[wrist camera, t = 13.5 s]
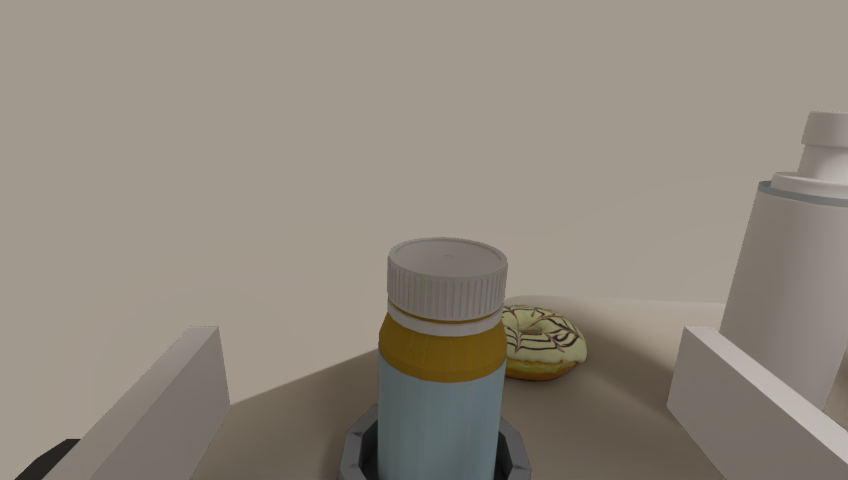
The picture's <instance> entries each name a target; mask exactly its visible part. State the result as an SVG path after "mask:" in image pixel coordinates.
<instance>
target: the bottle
mask: <svg viewBox="0 0 848 480" xmlns="http://www.w3.org/2000/svg"><path fill="white" fill-rule="evenodd" d="M507 268H508V263H507V258H506V256H505V255H504V254H503V253H502V252H501V251H499V250H498V249H496V248H494V247H492V246H489V245H487V244H483V243H480V242H476V241H471V240H465V239H458V238H445V237H433V238H420V239H414V240H409V241H405V242H402V243H400V244H397V245H396V246H394V247H393V248H392V249H391V250H390V252H389V256H388V271H387V273H388V274H387V277H388V278H387V292H388V312H387V315H386V317H385V320H384V322H383V324H382V327H381V329H380V333H379V346H378V480H493V478H494V469H495V460H496V451H497V442H498V432H499V423H500V414H501V405H502V396H503V386H504V377H505V368H506V359H507V336H506V333H505V329H504V325H503V322H502V318H501V317H502V313H503V301H504V298H505V288H506V278H507Z"/></svg>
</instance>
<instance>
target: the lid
mask: <svg viewBox="0 0 848 480" xmlns="http://www.w3.org/2000/svg"><path fill="white" fill-rule="evenodd" d="M531 471H532V470H531V467H530V464H529V460H528V457H527V454H526V451H525V448H524V445H523V442H522V439H521V436H520V433H519V432H518V431H517V430H515V429H514V428H513V427H512V426H511V425H510V424H509V423H508V422H507V421H505V420H504V419H503V418H502V417H501V416H500V423H499V432H498V442H497V451H496V460H495V469H494V478H493V480H530V478H531ZM337 480H378V404H375V405H373V406H372V407H371V408H370V409H369V410H368V411H367V412H366V413H365V414H364V415H363V416H362V417H361V418H360V419H359V420H358V421H357V422H356V423H355V424H354V425H353V426H352V427H351V428H350V429H349V430H348V431H347V433H346V438H345V443H344V448H343V453H342V458H341V464H340V470H339V473H338V477H337Z"/></svg>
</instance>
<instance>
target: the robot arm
mask: <svg viewBox="0 0 848 480" xmlns="http://www.w3.org/2000/svg"><path fill="white" fill-rule="evenodd" d="M666 407H667V408H668V409H669V411H670V412H671V413H672V414H673V416H674V417H675V418H676V419H677V420H678V422H679V423H680V424H681V425H682V427H683V428H684V429H685V430H686V431H687V433H688V434H689V435H690V436H691V438H692V439H693V440H694V441H695V442H696V444H697V445H698V446H699V447H700V448H701V450H702V451H703V452H704V453H705V455H706V456H707V457H708V458H709V459H710V461H711V462H712V463H713V464H714V466H715V467H716V468H717V469H718V470H719V472H720V473H721V474H722V475H723V477H724V478H725V479H726V480H848V432H847V431H846V430H845V429H843V428H842V427H841V426H840V425H838V424H837V423H836V422H834V421H833V420H832V419H830V418H829V417H828V416H827V415H825V414H824V413H823V412H821V411H820V410H819V409H817V408H816V407H815V406H814V405H812V404H811V403H810V402H808V401H807V400H806V399H804V398H803V397H802V396H801V395H799V394H798V393H797V392H795V391H794V390H793V389H791V388H790V387H789V386H787V385H786V384H785V383H784V382H782V381H781V380H780V379H778V378H777V377H776V376H774V375H773V374H772V373H771V372H769V371H768V370H767V369H765V368H764V367H763V366H761V365H760V364H759V363H758V362H756V361H755V360H754V359H752V358H751V357H750V356H748V355H747V354H746V353H745V352H743V351H742V350H741V349H739V348H738V347H737V346H735V345H734V344H733V343H732V342H730V341H729V340H728V339H726V338H725V337H724V336H722V335H721V334H720V333H719V332H717V331H716V330H715V329H713V328H712V327H711V326H684V329H683V334H682V338H681V343H680V347H679V352H678V356H677V361H676V365H675V370H674V374H673V379H672V383H671V388H670V392H669V397H668V401H667V406H666ZM230 410H231V407H230V400H229V393H228V387H227V380H226V374H225V366H224V360H223V353H222V347H221V339H220V333H219V327H218V326H191V327H190V328H189V329H188V330H187V331H186V332H185V333H184V334H183V335H182V336H181V337H180V338H179V339H178V340H177V341H176V342H175V343H174V344H173V345H172V346H171V347H170V348H169V349H168V350H167V351H166V352H165V353H164V354H163V355H162V356H161V357H160V358H159V360H157V362H156V363H155V364H154V365H153V366H152V367H151V368H150V369H149V370H148V371H147V372H146V373H145V374H144V375H143V376H142V377H141V378H140V379H139V380H138V381H137V382H136V383H135V384H134V385H133V386H132V387H131V388H130V389H129V390H128V391H127V393H125V395H123V397H122V398H121V399H120V400H119V401H118V402H117V403H116V404H115V405H114V406H113V407H112V408H111V409H110V410H109V411H108V412H107V413H106V414H105V415H104V416H103V417H102V418H101V419H100V420H99V422H97V423H96V424H95V425H94V427H92V429H91V430H90V431H89V432H88V433H87V434H86V435H85V436H84V437H83V438H82V439H66V440H65V441H63V442H62V443H60V444H58V445H57V446H55V447H54V448H52V449H51V450H49V451H48V452H46V453H44V454H43V455H41V456H40V457H38V458H37V459H36V460H34V461H33V462H32V463H31V464H30V465H29V466H28V467H27V468H26V469H25V470H24V471H23V472H22V473H21V474H20V475H19V476H18V477H17V478H16V479H15V480H190V478H191V476H192V475H193V473H194V471H195V470H196V468H197V466H198V464H199V463H200V461H201V459H202V458H203V456H204V454H205V452H206V451H207V449H208V447H209V446H210V444H211V442H212V440H213V439H214V437H215V435H216V434H217V432H218V430H219V428H220V427H221V425H222V423H223V422H224V420H225V418H226V416H227V415H228V413H229V411H230Z"/></svg>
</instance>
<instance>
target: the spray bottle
mask: <svg viewBox="0 0 848 480" xmlns="http://www.w3.org/2000/svg"><path fill="white" fill-rule="evenodd" d="M801 143H802V144H806V145H805V148H804V152H803V155H802V158H801V162H800V165H799V169H798V172H777V173H775V174H774V175H773V178H772V181H762V182H759V186H758V190H757V193H756V197H755V200H754V204H753V208H752V212H751V215H750V219H749V222H748V226H747V230H746V234H745V237H744V241H743V244H742V248H741V252H740V256H739V259H738V263H737V267H736V270H735V274H734V278H733V282H732V286H731V289H730V293H729V297H728V301H727V304H726V308H725V312H724V315H723V319H722V323H721V327H720V330H719V333H720V334H721V335H722V336H724V337H725V338H726V339H728V340H729V341H730V342H732V343H733V344H734V345H735V346H737V347H738V348H739V349H741V350H742V351H743V352H745V353H746V354H747V355H748V356H750V357H751V358H752V359H754V360H755V361H756V362H758V363H759V364H760V365H761V366H763V367H764V368H765V369H767V370H768V371H769V372H771V373H772V374H773V375H774V376H776V377H777V378H778V379H780V380H781V381H782V382H784V383H785V384H786V385H787V386H789V387H790V388H791V389H793V390H794V391H795V392H797V393H798V394H799V395H801V396H802V397H803V398H804V399H806V400H807V401H808V402H810V403H811V404H812V405H814V406H815V407H816V408H817V409H819V410H820V411H821V412H823V410H824V408H825V405H826V402H827V399H828V397H829V394H830V391H831V389H832V386H833V383H834V380H835V378H836V375H837V372H838V369H839V367H840V364H841V361H842V359H843V356H844V353H845V350H846V348H847V345H848V112H818V111H817V112H815V111H813V112H812V111H811V112H810V113H809V116H808V120H807V123H806V126H805V130H804V134H803V137H802V141H801Z"/></svg>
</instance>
